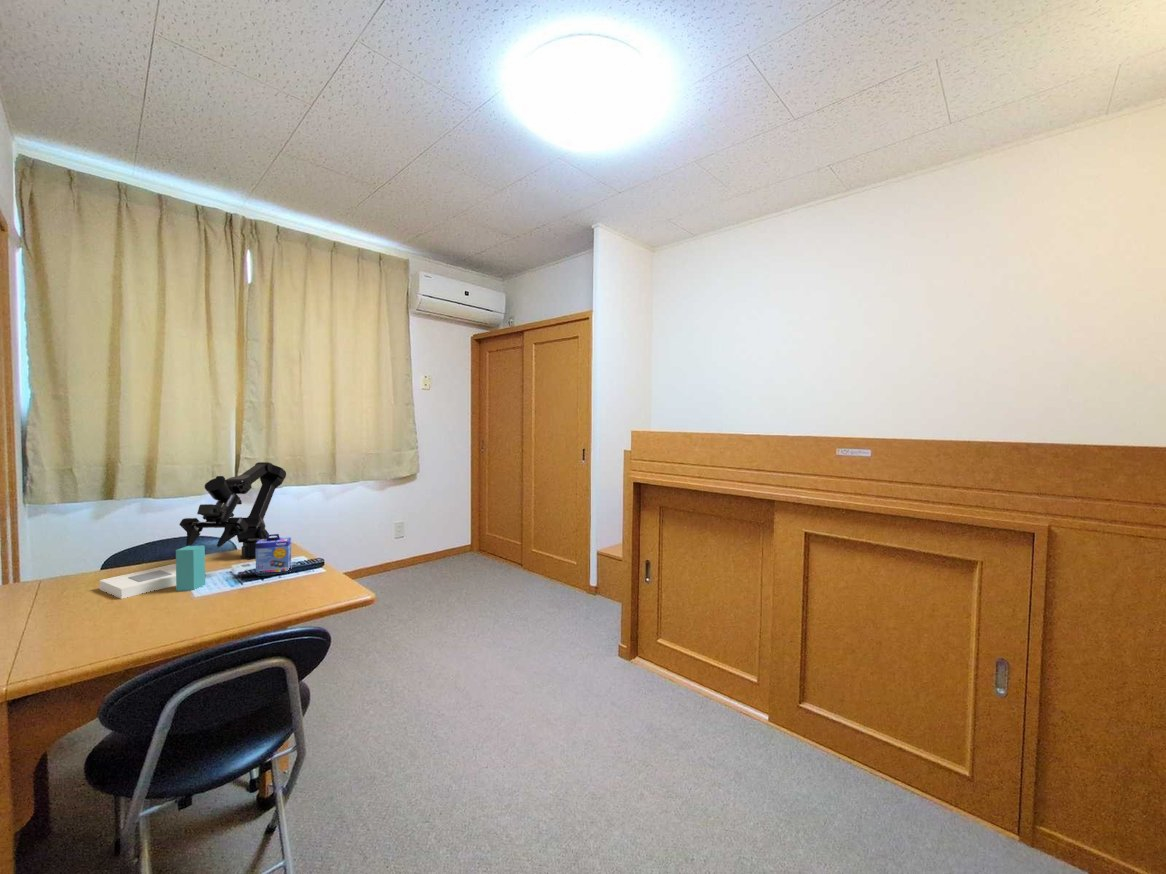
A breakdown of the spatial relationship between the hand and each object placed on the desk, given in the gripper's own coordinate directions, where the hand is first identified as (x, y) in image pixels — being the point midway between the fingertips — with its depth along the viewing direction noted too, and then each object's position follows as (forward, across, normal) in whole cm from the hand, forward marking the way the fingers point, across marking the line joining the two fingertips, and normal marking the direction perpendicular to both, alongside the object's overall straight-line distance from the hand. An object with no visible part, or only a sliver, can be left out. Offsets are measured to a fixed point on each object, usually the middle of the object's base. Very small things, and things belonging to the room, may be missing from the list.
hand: (202, 547), depth 148 cm
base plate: (+8, -15, +8) cm, 19 cm away
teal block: (+12, 0, +5) cm, 13 cm away
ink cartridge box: (+4, +19, +13) cm, 23 cm away
